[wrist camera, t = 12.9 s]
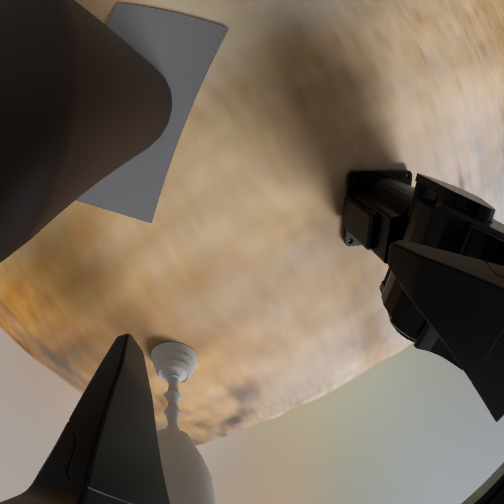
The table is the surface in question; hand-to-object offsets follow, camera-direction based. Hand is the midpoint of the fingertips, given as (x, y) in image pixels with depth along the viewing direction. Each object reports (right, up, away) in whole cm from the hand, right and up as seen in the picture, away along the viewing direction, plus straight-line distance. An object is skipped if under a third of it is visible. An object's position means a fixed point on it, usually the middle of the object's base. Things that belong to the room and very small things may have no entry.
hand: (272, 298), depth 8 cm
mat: (-9, +11, +7) cm, 16 cm away
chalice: (-9, -10, +19) cm, 23 cm away
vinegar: (-9, +11, +7) cm, 16 cm away
